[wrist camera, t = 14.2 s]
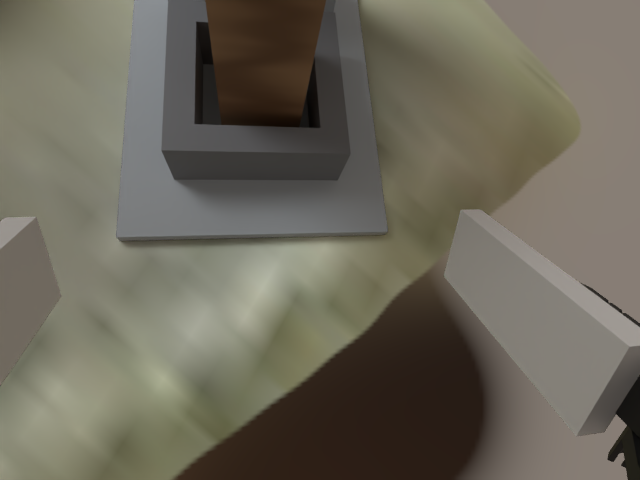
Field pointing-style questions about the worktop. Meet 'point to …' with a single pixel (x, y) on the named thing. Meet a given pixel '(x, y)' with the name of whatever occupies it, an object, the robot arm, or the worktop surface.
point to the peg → (263, 58)
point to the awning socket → (244, 140)
